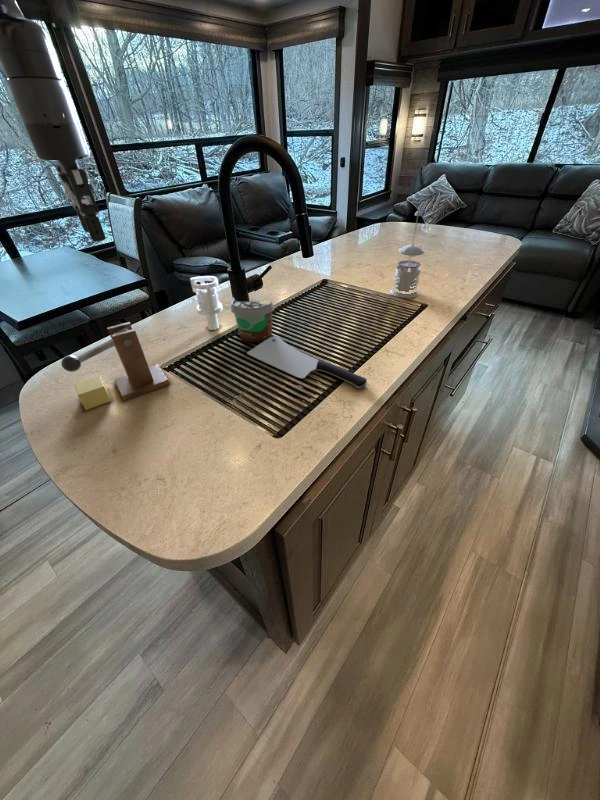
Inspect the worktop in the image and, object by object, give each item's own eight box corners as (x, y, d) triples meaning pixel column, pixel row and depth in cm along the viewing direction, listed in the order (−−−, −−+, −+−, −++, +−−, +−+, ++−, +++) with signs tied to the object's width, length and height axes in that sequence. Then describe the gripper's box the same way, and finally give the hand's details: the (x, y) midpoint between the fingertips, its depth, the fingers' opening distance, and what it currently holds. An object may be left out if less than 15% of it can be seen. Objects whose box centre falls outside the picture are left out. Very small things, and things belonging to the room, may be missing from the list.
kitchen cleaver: (245, 350, 85) (272, 332, 90) (247, 356, 86) (273, 337, 91) (345, 400, 69) (371, 374, 73) (345, 405, 70) (371, 380, 75)
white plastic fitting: (198, 325, 99) (187, 274, 89) (221, 320, 101) (212, 270, 92) (205, 335, 94) (193, 282, 84) (228, 329, 96) (220, 277, 87)
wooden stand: (123, 400, 71) (98, 344, 63) (115, 383, 76) (90, 328, 68) (169, 384, 76) (151, 329, 67) (159, 368, 81) (140, 315, 72)
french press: (387, 295, 113) (399, 213, 98) (393, 284, 122) (405, 206, 106) (416, 299, 110) (434, 214, 95) (421, 287, 119) (437, 207, 103)
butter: (111, 401, 71) (104, 386, 69) (85, 410, 69) (77, 395, 67) (106, 389, 75) (99, 375, 72) (82, 398, 72) (74, 383, 70)
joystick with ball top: (69, 377, 65) (58, 365, 63) (67, 370, 67) (56, 358, 65) (136, 342, 69) (127, 330, 67) (132, 336, 71) (124, 324, 69)
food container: (226, 340, 91) (220, 305, 85) (237, 330, 96) (232, 296, 89) (267, 347, 88) (264, 311, 82) (276, 336, 92) (274, 302, 86)
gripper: (21, 122, 54) (67, 231, 64) (25, 119, 45) (78, 247, 55) (72, 122, 57) (108, 226, 67) (85, 119, 48) (125, 239, 58)
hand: (95, 235), depth 61 cm, fingers open, 8 cm apart
